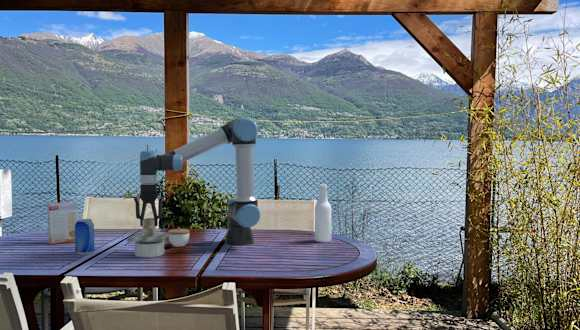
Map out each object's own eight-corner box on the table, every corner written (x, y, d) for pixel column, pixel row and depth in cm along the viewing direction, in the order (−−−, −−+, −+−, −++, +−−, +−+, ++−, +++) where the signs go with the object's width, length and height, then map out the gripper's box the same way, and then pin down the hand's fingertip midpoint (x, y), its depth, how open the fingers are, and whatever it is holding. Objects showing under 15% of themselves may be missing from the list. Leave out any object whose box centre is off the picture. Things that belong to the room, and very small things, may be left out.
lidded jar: (184, 248, 267) (184, 229, 266) (164, 247, 269) (164, 228, 269) (193, 244, 277) (192, 225, 277) (173, 243, 280) (173, 225, 279)
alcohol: (312, 239, 288) (312, 184, 286) (327, 239, 291) (327, 183, 289) (318, 243, 280) (318, 185, 278) (333, 242, 282) (334, 185, 281)
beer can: (98, 252, 257) (97, 219, 257) (86, 256, 249) (85, 221, 249) (83, 251, 260) (83, 218, 259) (71, 254, 252) (70, 220, 251)
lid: (169, 235, 261) (169, 216, 260) (162, 241, 245) (162, 221, 244) (136, 235, 261) (136, 216, 260) (127, 241, 245) (126, 221, 244)
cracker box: (76, 240, 288) (75, 201, 287) (78, 242, 283) (78, 202, 282) (48, 243, 280) (47, 203, 279) (50, 244, 275) (49, 204, 274)
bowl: (166, 251, 260) (166, 238, 259) (160, 257, 247) (160, 244, 246) (139, 251, 260) (139, 238, 259) (131, 257, 247) (131, 244, 246)
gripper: (168, 183, 255) (169, 231, 257) (132, 183, 255) (133, 232, 256) (165, 184, 248) (165, 234, 249) (127, 184, 248) (128, 234, 249)
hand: (149, 233), depth 253 cm, fingers closed on lid, 4 cm apart
